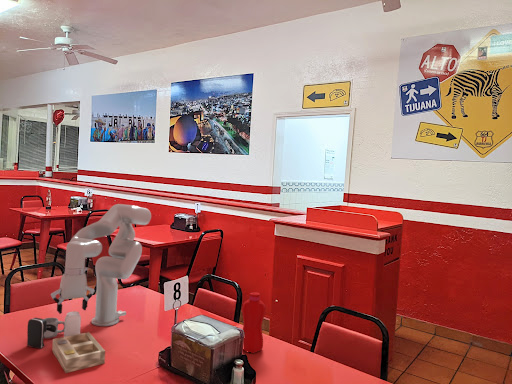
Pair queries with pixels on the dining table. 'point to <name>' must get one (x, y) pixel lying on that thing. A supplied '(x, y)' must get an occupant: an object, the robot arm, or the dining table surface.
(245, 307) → the water bottle
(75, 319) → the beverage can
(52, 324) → the mug
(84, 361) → the holder block
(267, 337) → the dining table surface
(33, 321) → the battery charger
